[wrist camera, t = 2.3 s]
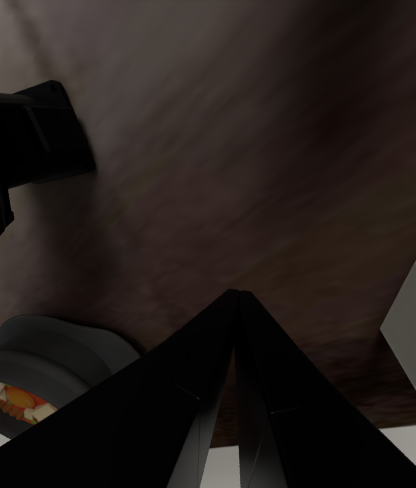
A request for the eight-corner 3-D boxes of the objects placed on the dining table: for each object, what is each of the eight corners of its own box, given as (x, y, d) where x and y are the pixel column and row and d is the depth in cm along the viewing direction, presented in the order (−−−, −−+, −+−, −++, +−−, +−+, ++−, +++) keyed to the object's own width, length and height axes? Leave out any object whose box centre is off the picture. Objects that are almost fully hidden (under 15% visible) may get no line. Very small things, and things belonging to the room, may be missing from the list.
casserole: (120, 291, 27) (69, 357, 19) (176, 395, 34) (155, 471, 27) (-33, 313, 34) (-113, 368, 26) (42, 395, 41) (-4, 456, 34)
